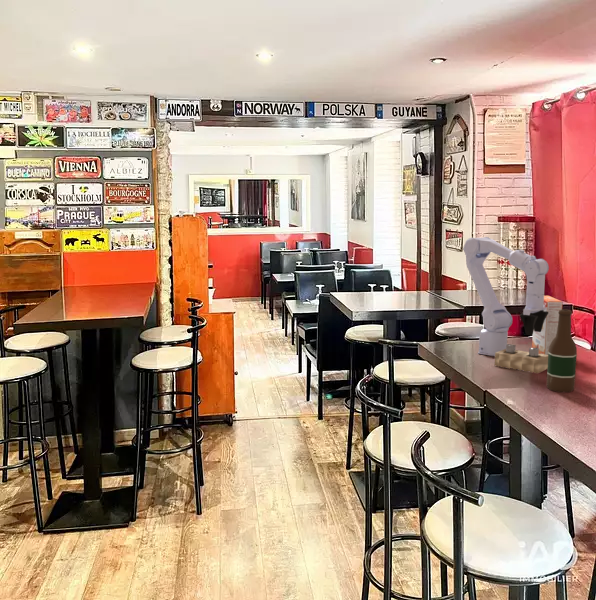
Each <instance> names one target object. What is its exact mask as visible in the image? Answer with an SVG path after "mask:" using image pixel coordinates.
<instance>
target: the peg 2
mask: <svg viewBox="0 0 596 600" xmlns="http://www.w3.org/2000/svg"><path fill="white" fill-rule="evenodd" d="M528 352H529V357H535V358H538V355H539V349H538V348H532V347H529V348H528Z"/></svg>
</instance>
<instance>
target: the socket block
mask: <svg viewBox="0 0 596 600" xmlns="http://www.w3.org/2000/svg"><path fill="white" fill-rule="evenodd" d="M495 365H496V366H495ZM494 366H495V367H499V366H502V367H501V368H504V367H507V369H510V368H513V369H512V370H516V369H519V370H518V371H521V370H524V371H523V372H527V371H530V372H529V373H533V372H534V373H533V374H539V373H542V372H544V371H545V370H546V371H547V368H548V355H544V354H539V355H538V358H535V357H529V351H524V350H519V349H518V350H517V349H515V354H510V353H506V349H504V350H501V351H499V352H496V353H495V356H494Z"/></svg>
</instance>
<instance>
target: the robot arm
mask: <svg viewBox="0 0 596 600" xmlns="http://www.w3.org/2000/svg"><path fill="white" fill-rule="evenodd" d="M462 250H463V252H464V255H465V265H466V268H467V270H468V272H469V275H470V276H471V279H472V281H473V284H474V287H475V289H476V291H477V293H478V296H479V298H480V301H481V303H482V306H483V311H482V312H481V316H482V322H483V327H484V328H482V329H481V330H480V334H479V335H478V336H479V337H478V352H477V354H480V355H485V356H486V355H487V356H491V357H495V353H496V352H499V351H501V350H504V349H506V345H507V344H508V333H509V332H508V331H509V330H510V329H509V328H510V327H511V326H512V324H513V315H511V313H510V312H509V311H508V310H507V308H506V307H505V306H504V304H502V303H500V301H499V299H498V297H497V295H496V293H495V290H494V288H493V285H492V282H491V280H490V279H489V276H488V274H487V272H486V270H485V267H484V262H485V261H486V259H487V258H488V257H489V255H490V254H491V253H493V254H495V255H497V256H500V257H502V258H504V259H507V260H508V261H509V262H508V263H509V264H510V266H513V267H515V268H517V269H519V270H521V271H522V272H524V274H525V275H526V299H525V307H524V308H523V309H522V311H523V312H522V313H519V316H520V319H521V321H522V323H523V327H524V332H525V335H527V336H533V331H535V332H541V330H542V327H543V323H544V320H545V318H546V316H547V315H548V312H547V311H544V310H547V308H545V305H544V296H545V282H546V281H545V280H546V275H547V274H548V273H549V269H550V267H549V263H548V261H547V260H545V259H544V258H537V257H536V256H535V255H530V254H528V253H526V252H525V250H523V249H516V250H512V249H511V248H508V247H507V246H505V245H503V244H501V243H499V242H498V241H496V240H495V239H494V238H491V237H489V236H488V237H487V236H483V237H469V238H467V239H466V240H465V243H464V245H463V248H462Z"/></svg>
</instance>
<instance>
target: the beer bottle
mask: <svg viewBox="0 0 596 600" xmlns="http://www.w3.org/2000/svg"><path fill="white" fill-rule="evenodd" d="M558 314H559V320H558V328H557V333H556V337H555V338H554V339H553V340H552V342H551V344H550V346H549V352H548V368H547V369H546V371H547V374H546V388H547V389H549V391H551V390H552V392H556V391H557V392H558V393H571V392H572V391H574V390H575V383H576V368H577V356H578V353H577V351H578V350H577V345H576V342H575V340H574V339H573V338H572V314H573V311H572V310H570V309H566V308H565V309H563V308H562V310H559V312H558Z"/></svg>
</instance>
